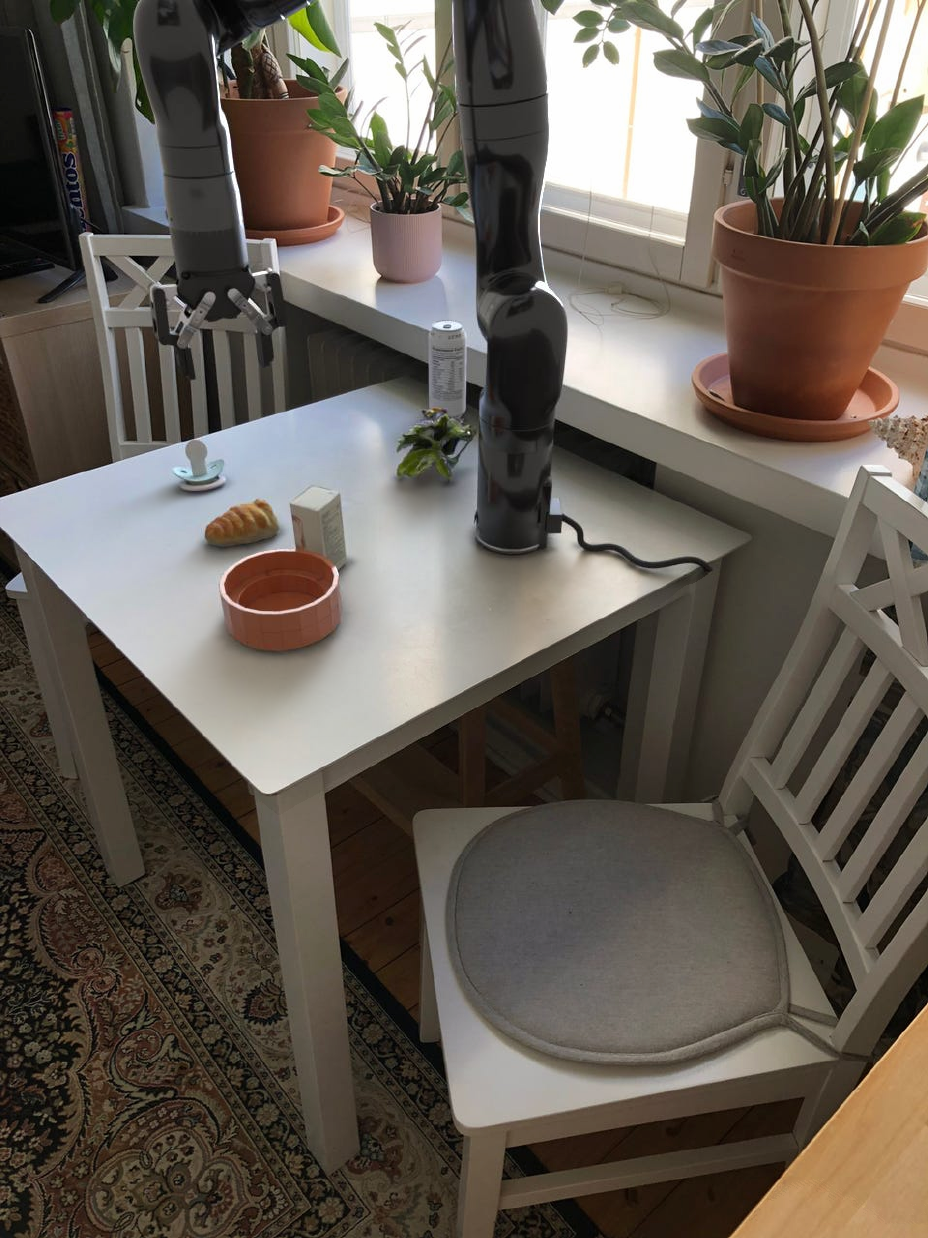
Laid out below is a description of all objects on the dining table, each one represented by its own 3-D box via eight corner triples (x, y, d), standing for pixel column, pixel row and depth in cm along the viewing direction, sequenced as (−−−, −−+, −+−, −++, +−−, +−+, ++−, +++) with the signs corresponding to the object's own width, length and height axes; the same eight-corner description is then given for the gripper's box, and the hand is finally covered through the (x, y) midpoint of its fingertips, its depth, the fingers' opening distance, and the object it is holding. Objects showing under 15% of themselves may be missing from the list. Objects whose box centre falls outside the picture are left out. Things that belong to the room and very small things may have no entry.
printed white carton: (319, 553, 119) (313, 483, 113) (348, 562, 117) (343, 491, 111) (295, 573, 115) (287, 501, 109) (324, 582, 113) (318, 510, 107)
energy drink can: (467, 408, 156) (469, 319, 147) (462, 423, 151) (464, 332, 142) (432, 406, 157) (431, 317, 148) (426, 420, 152) (425, 330, 143)
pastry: (220, 557, 118) (215, 531, 115) (196, 535, 122) (191, 510, 120) (284, 534, 122) (281, 508, 120) (260, 514, 127) (256, 489, 124)
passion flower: (435, 492, 143) (471, 422, 141) (464, 512, 134) (503, 438, 132) (374, 463, 137) (411, 389, 135) (400, 481, 128) (440, 403, 126)
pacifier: (232, 488, 133) (223, 469, 137) (226, 449, 129) (217, 430, 133) (180, 497, 130) (173, 478, 135) (172, 458, 127) (165, 439, 131)
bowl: (347, 587, 112) (344, 549, 109) (335, 655, 102) (331, 614, 99) (238, 586, 112) (232, 548, 109) (214, 654, 102) (207, 613, 98)
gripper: (144, 235, 90) (173, 394, 99) (284, 219, 95) (299, 371, 105) (127, 218, 95) (156, 371, 105) (260, 204, 101) (277, 350, 110)
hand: (228, 371), depth 105 cm, fingers open, 8 cm apart
